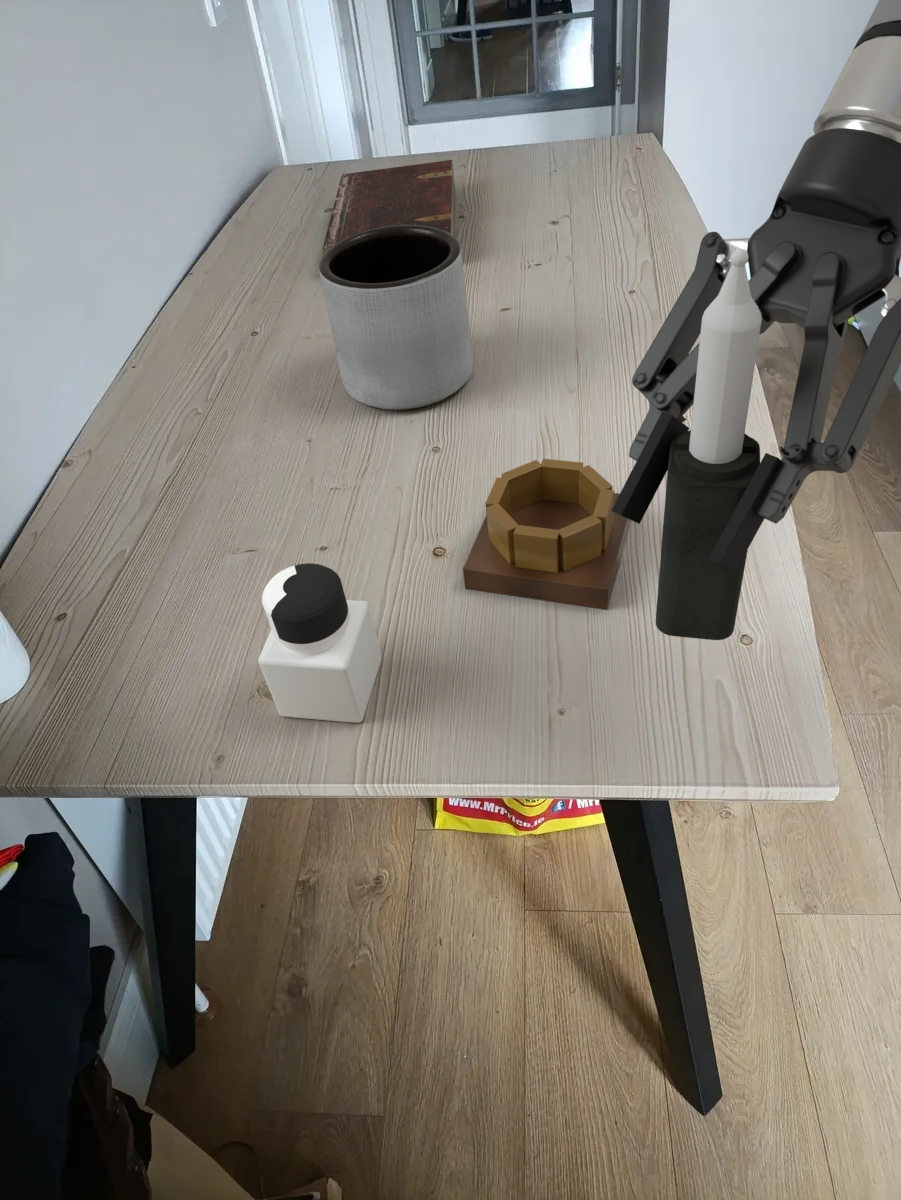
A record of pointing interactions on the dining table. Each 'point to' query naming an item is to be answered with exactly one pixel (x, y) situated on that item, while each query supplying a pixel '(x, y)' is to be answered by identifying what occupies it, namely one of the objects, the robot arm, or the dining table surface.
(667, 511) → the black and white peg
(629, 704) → the dining table surface
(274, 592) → the medicine bottle
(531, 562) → the stand
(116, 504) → the dining table surface
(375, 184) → the hardback book
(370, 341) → the planter
